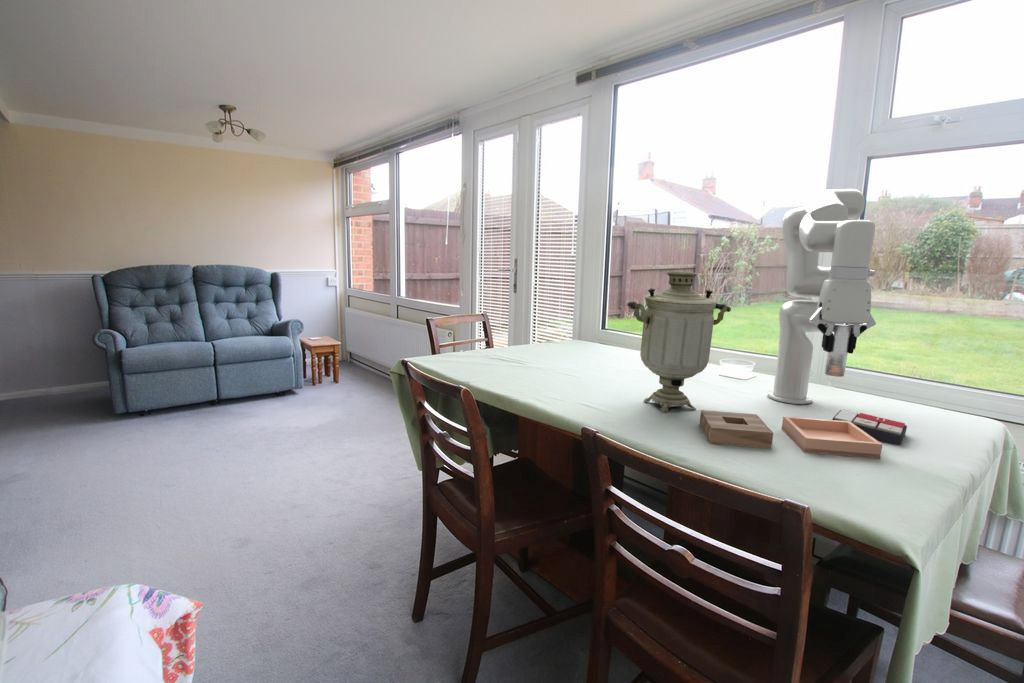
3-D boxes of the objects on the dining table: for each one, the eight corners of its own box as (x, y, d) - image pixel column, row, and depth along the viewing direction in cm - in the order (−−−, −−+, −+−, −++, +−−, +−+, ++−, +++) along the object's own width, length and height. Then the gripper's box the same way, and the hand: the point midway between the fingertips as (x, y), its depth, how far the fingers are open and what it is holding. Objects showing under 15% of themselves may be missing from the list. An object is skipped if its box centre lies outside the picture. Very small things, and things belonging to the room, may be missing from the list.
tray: (781, 428, 133) (783, 416, 132) (847, 434, 130) (849, 421, 130) (804, 452, 118) (806, 438, 117) (880, 458, 115) (882, 444, 114)
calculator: (903, 433, 122) (832, 415, 132) (899, 449, 123) (829, 431, 133) (908, 422, 130) (841, 406, 140) (904, 438, 131) (838, 421, 141)
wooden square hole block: (699, 424, 135) (700, 410, 135) (754, 428, 133) (756, 414, 132) (709, 443, 122) (711, 427, 121) (771, 448, 119) (773, 432, 119)
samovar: (706, 393, 165) (718, 271, 158) (733, 419, 140) (748, 275, 133) (615, 389, 168) (622, 269, 161) (624, 414, 142) (634, 272, 135)
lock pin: (822, 372, 123) (828, 323, 121) (839, 373, 122) (847, 324, 120) (828, 376, 119) (835, 326, 117) (847, 377, 119) (854, 327, 116)
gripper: (880, 275, 119) (868, 350, 122) (803, 273, 122) (794, 346, 125) (897, 276, 111) (884, 357, 115) (815, 274, 115) (805, 352, 118)
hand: (837, 351), depth 120 cm, fingers closed on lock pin, 4 cm apart
